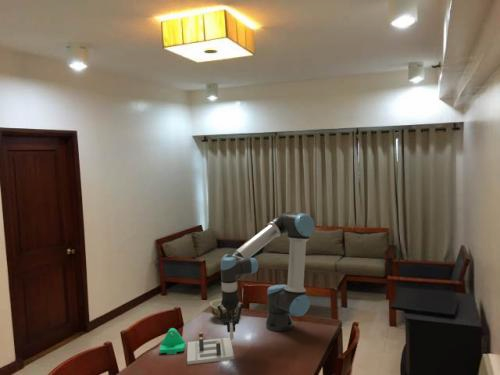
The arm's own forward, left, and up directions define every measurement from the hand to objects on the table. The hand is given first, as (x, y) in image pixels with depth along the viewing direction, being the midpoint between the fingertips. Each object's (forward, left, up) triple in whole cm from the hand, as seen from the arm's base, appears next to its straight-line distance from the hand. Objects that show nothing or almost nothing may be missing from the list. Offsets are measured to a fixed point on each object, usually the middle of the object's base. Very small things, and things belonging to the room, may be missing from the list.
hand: (231, 338), depth 203 cm
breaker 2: (+7, 0, -7) cm, 9 cm away
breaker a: (+15, -14, -7) cm, 21 cm away
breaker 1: (+15, -7, -7) cm, 18 cm away
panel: (+11, -7, -9) cm, 16 cm away
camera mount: (+29, -14, -9) cm, 33 cm away
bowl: (0, -52, -9) cm, 53 cm away
